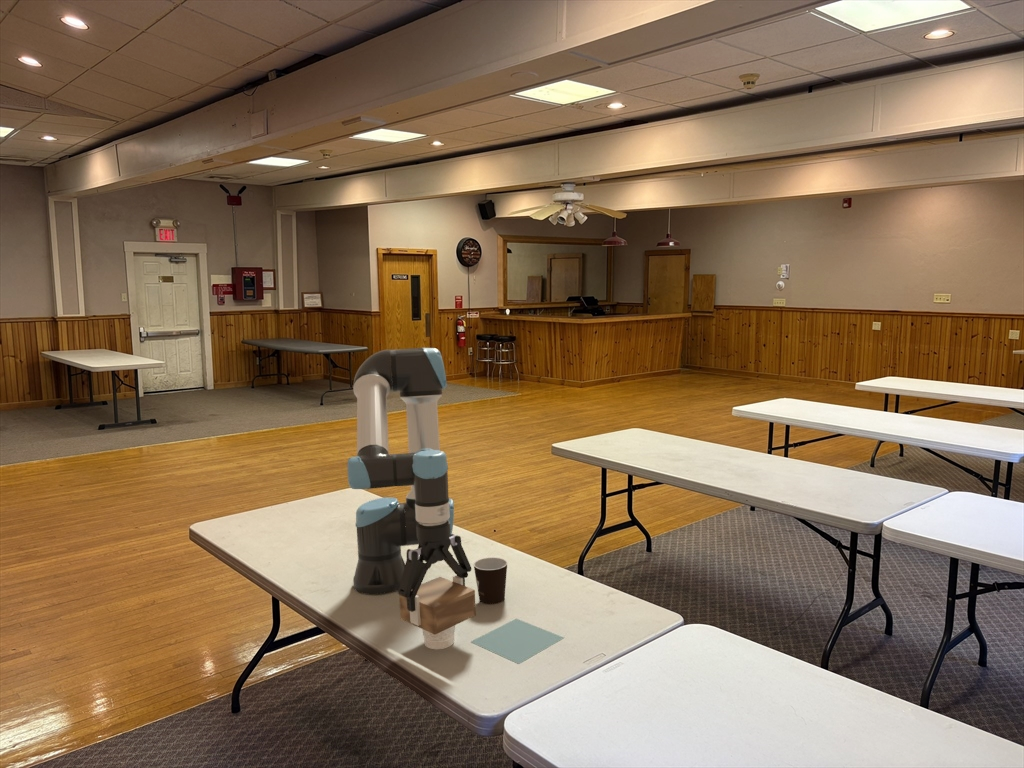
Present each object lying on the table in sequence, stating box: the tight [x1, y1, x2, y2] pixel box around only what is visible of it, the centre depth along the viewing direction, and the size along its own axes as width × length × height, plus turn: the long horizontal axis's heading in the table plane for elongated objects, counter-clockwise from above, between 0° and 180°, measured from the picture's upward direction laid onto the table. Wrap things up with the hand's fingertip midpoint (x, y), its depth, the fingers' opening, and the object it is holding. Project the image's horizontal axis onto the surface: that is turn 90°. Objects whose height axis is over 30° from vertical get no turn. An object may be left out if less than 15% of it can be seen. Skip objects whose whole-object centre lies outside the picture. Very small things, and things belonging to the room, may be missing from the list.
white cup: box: [421, 625, 456, 650], centre depth 158 cm, size 8×8×10 cm
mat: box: [470, 618, 565, 665], centre depth 159 cm, size 15×15×1 cm
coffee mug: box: [473, 556, 508, 605], centre depth 182 cm, size 12×9×10 cm
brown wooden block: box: [398, 576, 477, 635], centre depth 158 cm, size 12×12×6 cm
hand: (437, 613), depth 158 cm, fingers closed on brown wooden block, 12 cm apart
